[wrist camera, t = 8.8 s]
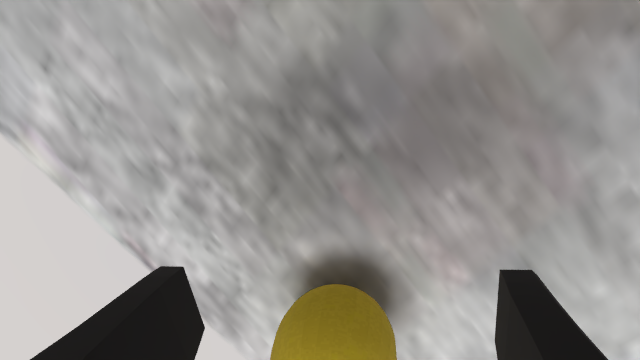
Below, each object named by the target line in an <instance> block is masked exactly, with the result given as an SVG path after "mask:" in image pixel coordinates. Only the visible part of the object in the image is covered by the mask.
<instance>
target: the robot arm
mask: <svg viewBox="0 0 640 360" xmlns="http://www.w3.org/2000/svg"><path fill="white" fill-rule="evenodd" d="M204 329H205V327H204V324H203V321H202V318H201V316H200V313H199V310H198V307H197V304H196V301H195V299H194V296H193V293H192V290H191V287H190V284H189V281H188V279H187V276H186V273H185V270H184V267H165V266H161V267H159V268H158V269H156V270H155V271H153V272H152V273H150V274H149V275H147V276H146V277H144V278H143V279H142V280H140V281H139V282H137V283H136V284H135V285H133V286H132V287H131V288H129V289H128V290H127V291H125V292H124V293H122V294H121V295H120V296H119V297H117V298H116V299H114V300H113V301H112V302H110V303H109V304H108V305H106V306H105V307H104V308H102V309H101V310H100V311H98V312H97V313H95V314H94V315H93V316H91V317H90V318H89V319H88V320H86V321H85V322H83V323H82V324H81V325H79V326H78V327H76V328H75V329H74V330H72V331H71V332H69V333H68V334H66V335H65V336H64V337H62V338H61V339H59V340H58V341H56V342H55V343H53V344H52V345H51V346H49V347H48V348H46V349H45V350H43V351H42V352H40V353H39V354H38V355H36V356H35V357H34V358H32V359H30V360H194V359H195V356H196V353H197V351H198V347H199V345H200V341H201V338H202V335H203V332H204ZM495 345H496V351H497V358H498V360H608V359H607V358H606V357H605V356H604V354H603V353H602V352H601V351H600V350H599V349H598V348H597V347H596V346H595V344H594V343H593V342H592V341H591V340H590V339H589V338H588V337H587V336H586V334H585V333H584V332H583V331H582V330H581V329H580V328H579V326H578V325H577V324H576V323H575V322H574V321H573V319H572V318H571V317H570V316H569V315H568V313H567V312H566V311H565V310H564V309H563V307H562V306H561V305H560V304H559V302H558V301H557V300H556V299H555V297H554V296H553V295H552V294H551V292H550V291H549V290H548V289H547V287H546V286H545V285H544V283H543V282H542V281H541V280H540V278H539V277H538V276H537V274H535V273H534V272H533V271H532V270H500V275H499V289H498V303H497V317H496V331H495Z"/></svg>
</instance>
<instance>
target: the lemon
mask: <svg viewBox="0 0 640 360" xmlns="http://www.w3.org/2000/svg"><path fill="white" fill-rule="evenodd" d="M270 360H397V357H396V345H395V337H394V333H393V330H392V327H391V325H390V322H389V320H388V318H387V316H386V314H385V312H384V311H383V309H382V308H381V307H380V306H379V304H378V303H377V302H376V301H375V300H374V299H373V298H372V297H370V296H369V295H368V294H366V293H365V292H363V291H361V290H359V289H357V288H355V287H351V286H347V285H341V284H330V285H323V286H320V287H318V288H315V289H312V290H310V291H309V292H307V293H306V294H304V295H303V296H301V297H300V298H299V299H298V300H296V301H295V302H294V304H293V305H292V306H291V308H290V309H289V310H288V312H287V313H286V314H285V316H284V318H283V319H282V321H281V323H280V325H279V328H278V330H277V333H276V337H275V340H274V344H273V348H272V352H271V358H270Z"/></svg>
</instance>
